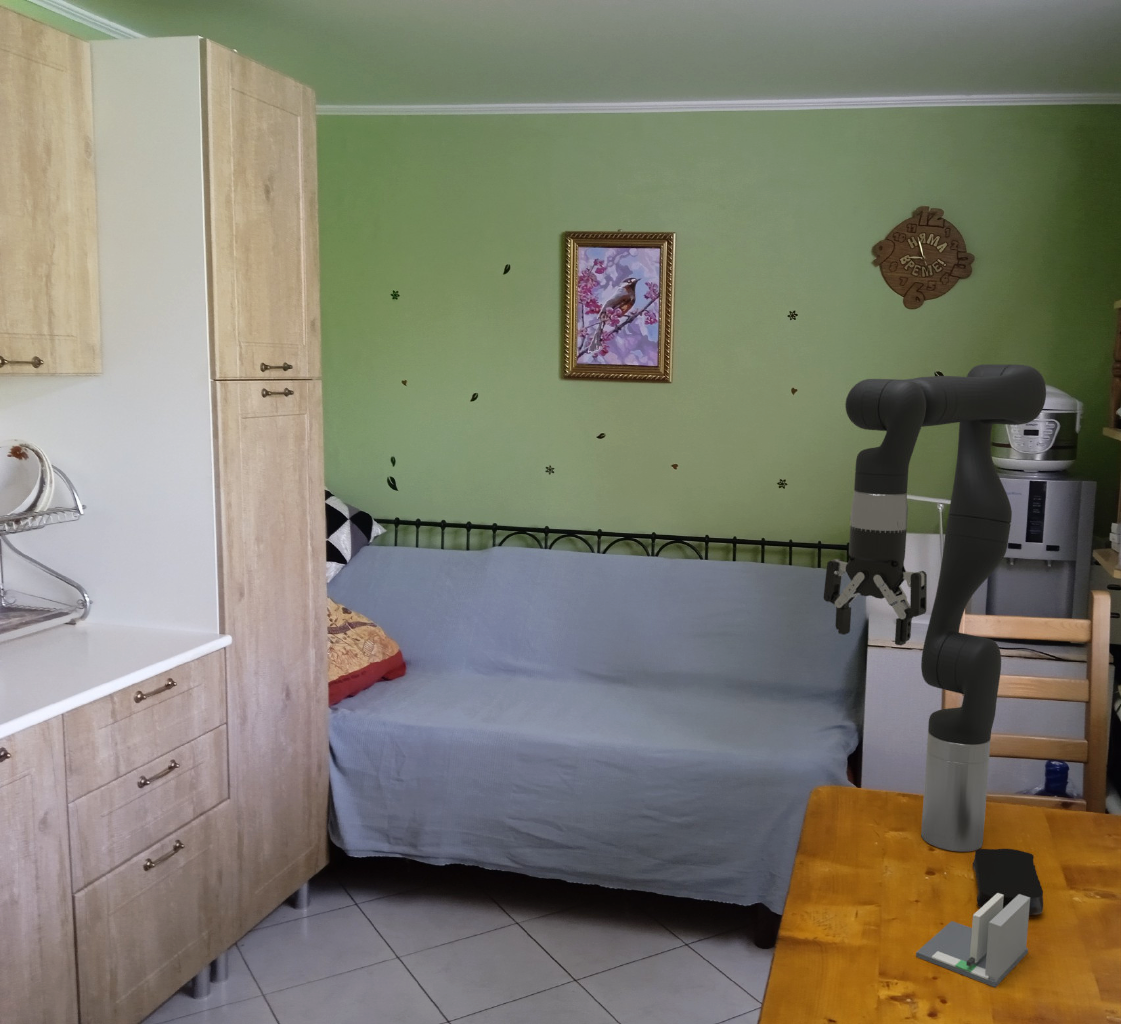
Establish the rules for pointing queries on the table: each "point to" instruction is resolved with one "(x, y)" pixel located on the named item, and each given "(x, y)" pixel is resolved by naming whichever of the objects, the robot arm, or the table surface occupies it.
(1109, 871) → the table surface
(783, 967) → the table surface
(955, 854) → the table surface
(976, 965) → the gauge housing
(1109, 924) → the table surface
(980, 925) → the panel
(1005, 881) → the black sponge
